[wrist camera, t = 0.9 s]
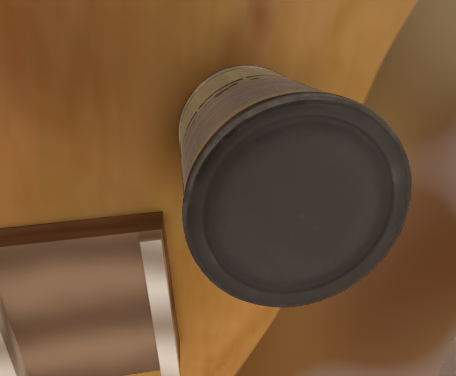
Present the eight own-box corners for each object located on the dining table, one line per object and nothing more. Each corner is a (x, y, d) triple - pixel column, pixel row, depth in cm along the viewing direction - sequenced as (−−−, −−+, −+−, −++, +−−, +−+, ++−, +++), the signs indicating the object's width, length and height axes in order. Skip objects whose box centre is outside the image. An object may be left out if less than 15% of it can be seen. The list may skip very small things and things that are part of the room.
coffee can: (333, 103, 29) (459, 161, 17) (267, 211, 32) (330, 333, 19) (216, 36, 26) (259, 42, 14) (154, 162, 29) (142, 267, 16)
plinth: (-20, 230, 29) (-50, 263, 25) (162, 211, 31) (161, 239, 27) (27, 363, 35) (8, 407, 31) (179, 341, 36) (180, 381, 32)
